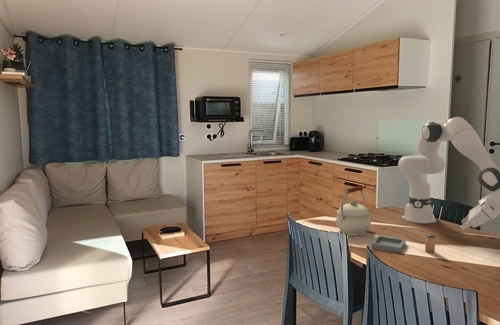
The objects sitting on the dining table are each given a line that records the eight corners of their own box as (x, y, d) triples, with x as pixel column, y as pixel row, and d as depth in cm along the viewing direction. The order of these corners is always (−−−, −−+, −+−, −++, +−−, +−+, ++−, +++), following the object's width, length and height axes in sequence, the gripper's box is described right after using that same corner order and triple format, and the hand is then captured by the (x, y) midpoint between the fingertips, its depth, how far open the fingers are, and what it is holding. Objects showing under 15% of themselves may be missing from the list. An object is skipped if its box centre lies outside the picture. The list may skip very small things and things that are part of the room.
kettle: (356, 240, 192) (357, 192, 189) (327, 232, 206) (327, 187, 203) (381, 230, 208) (383, 185, 205) (353, 223, 222) (354, 181, 219)
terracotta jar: (425, 249, 179) (426, 233, 178) (435, 251, 177) (436, 234, 175) (424, 252, 175) (425, 235, 174) (434, 253, 173) (435, 237, 172)
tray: (377, 239, 193) (378, 235, 192) (405, 244, 186) (405, 239, 185) (371, 248, 181) (371, 242, 181) (400, 253, 175) (400, 247, 174)
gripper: (484, 196, 171) (458, 214, 177) (483, 206, 154) (455, 225, 160) (495, 207, 169) (468, 225, 175) (496, 218, 152) (466, 237, 158)
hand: (462, 225), depth 168 cm, fingers open, 8 cm apart
